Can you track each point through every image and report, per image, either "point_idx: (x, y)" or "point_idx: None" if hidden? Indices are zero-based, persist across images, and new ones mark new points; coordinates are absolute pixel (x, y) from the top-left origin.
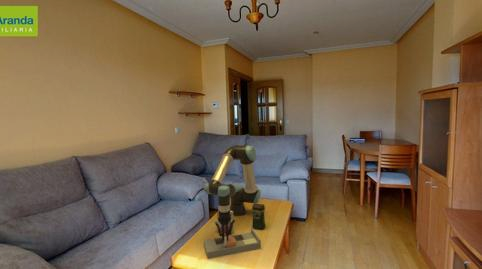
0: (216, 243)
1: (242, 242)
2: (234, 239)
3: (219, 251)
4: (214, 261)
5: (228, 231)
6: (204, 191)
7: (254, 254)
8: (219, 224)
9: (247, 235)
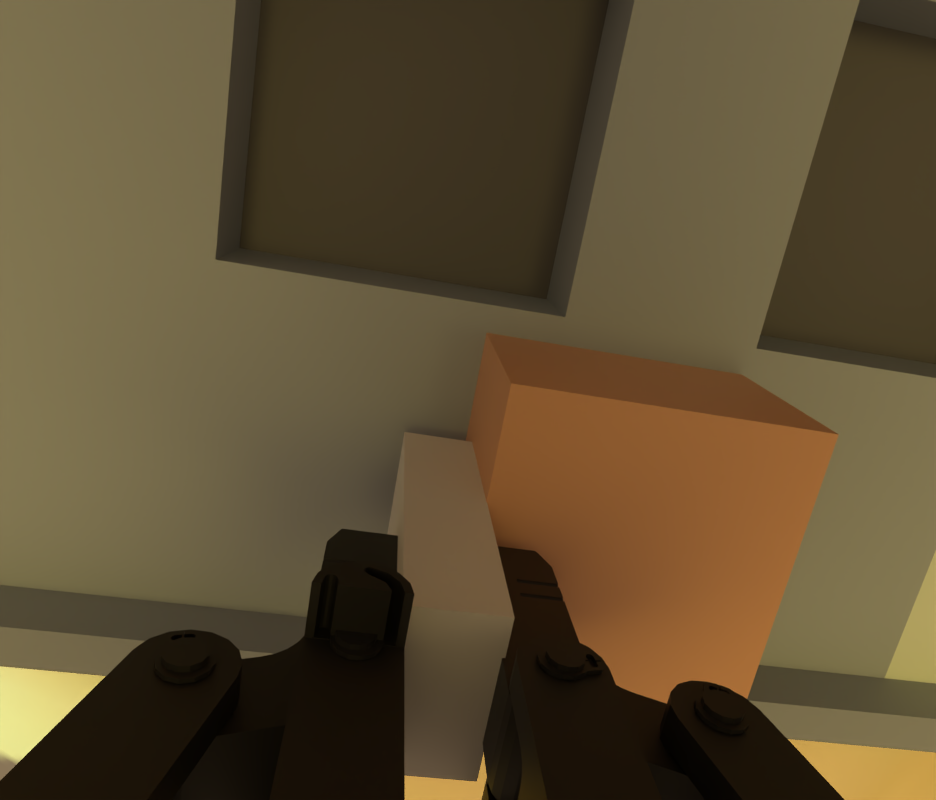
0: (311, 1)
1: (916, 491)
2: (748, 615)
3: None
4: (62, 689)
5: (701, 751)
6: None
7: (862, 790)
8: None
9: None
